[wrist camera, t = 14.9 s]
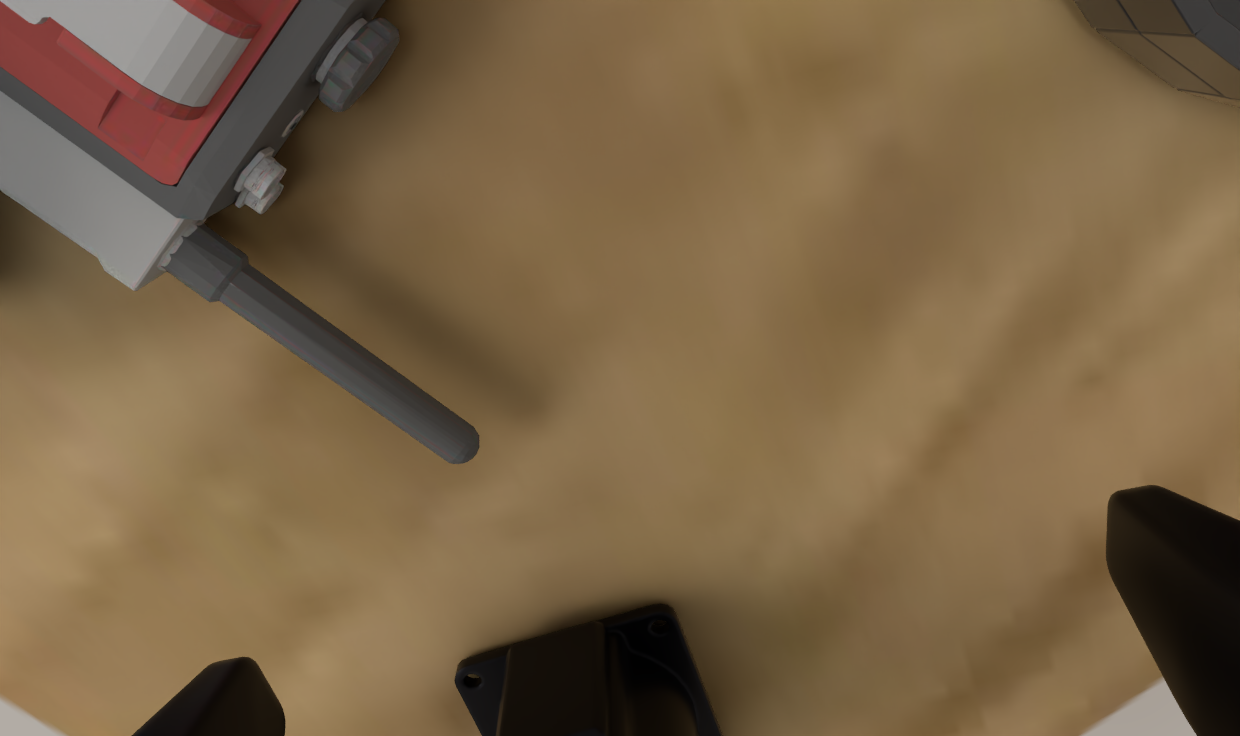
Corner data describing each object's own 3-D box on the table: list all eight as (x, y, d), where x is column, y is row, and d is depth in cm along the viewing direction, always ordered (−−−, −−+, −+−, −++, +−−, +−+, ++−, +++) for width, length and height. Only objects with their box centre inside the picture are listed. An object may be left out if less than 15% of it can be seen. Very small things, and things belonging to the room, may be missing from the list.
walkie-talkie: (-369, -125, 17) (455, 458, 23) (-663, -160, 13) (425, 559, 19) (-188, -572, 15) (687, 199, 20) (-481, -783, 11) (710, 251, 16)
